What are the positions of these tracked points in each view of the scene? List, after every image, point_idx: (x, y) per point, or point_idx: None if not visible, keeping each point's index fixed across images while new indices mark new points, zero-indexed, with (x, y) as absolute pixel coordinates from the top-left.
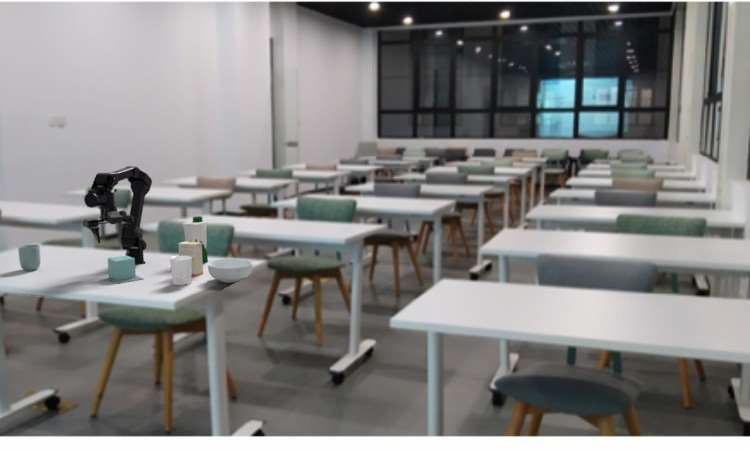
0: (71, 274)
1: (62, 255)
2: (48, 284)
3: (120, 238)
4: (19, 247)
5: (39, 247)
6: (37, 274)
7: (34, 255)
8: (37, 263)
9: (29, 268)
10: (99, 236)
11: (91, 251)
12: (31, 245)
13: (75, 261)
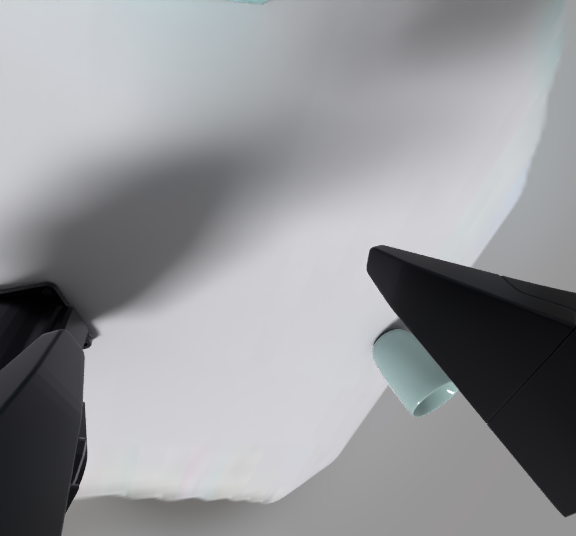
0: (356, 233)
1: (269, 447)
2: (492, 104)
3: (70, 360)
4: (452, 393)
5: (415, 396)
6: None
7: (422, 360)
8: (394, 344)
9: (403, 330)
10: (457, 279)
11: (193, 480)
12: (417, 413)
13: (268, 396)
